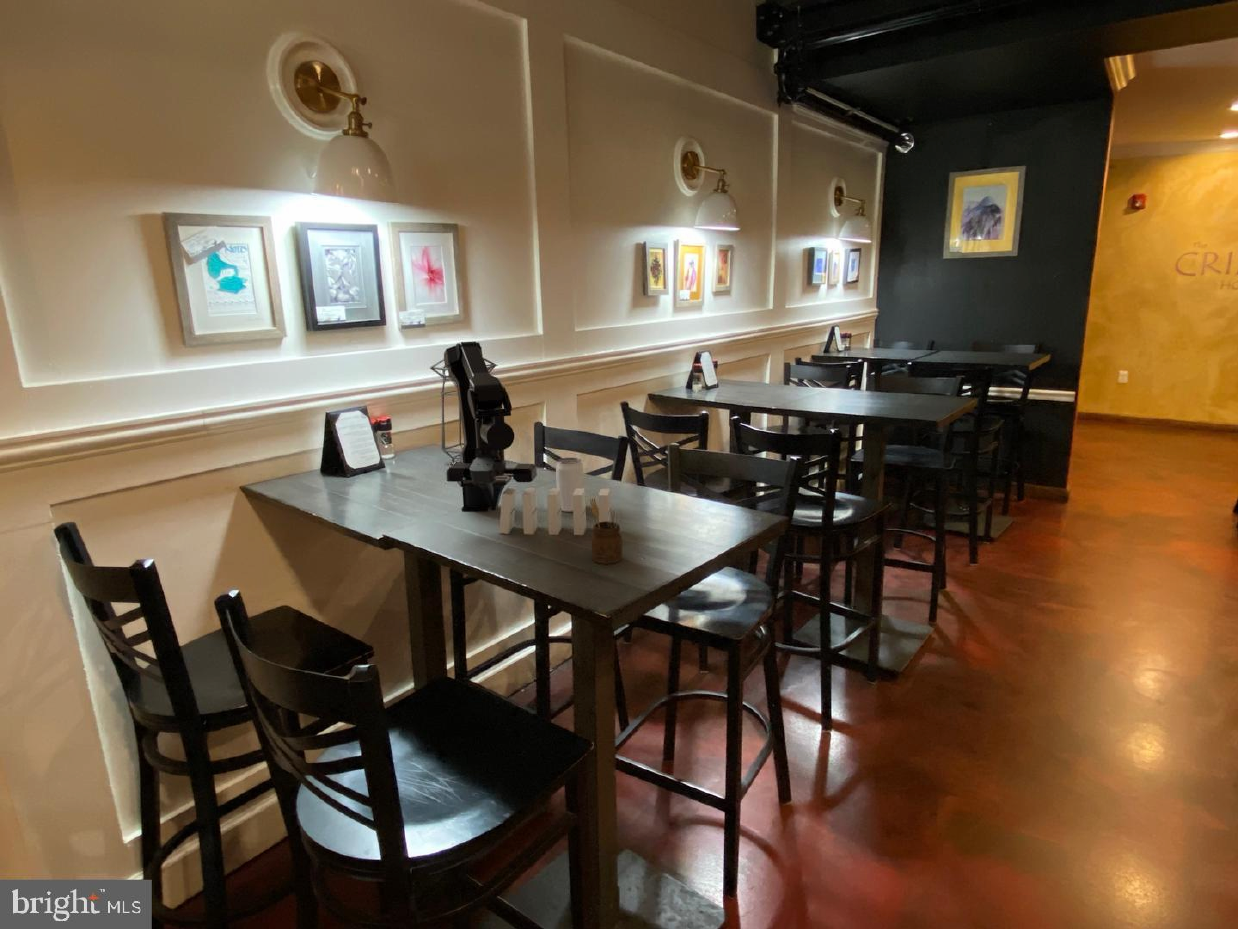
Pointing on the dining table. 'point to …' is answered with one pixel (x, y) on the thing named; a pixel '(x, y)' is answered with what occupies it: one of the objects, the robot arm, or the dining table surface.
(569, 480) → the can
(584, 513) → the domino
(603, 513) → the domino
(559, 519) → the domino
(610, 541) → the utensil holder
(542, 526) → the dining table surface
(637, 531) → the dining table surface
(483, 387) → the robot arm
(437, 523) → the dining table surface
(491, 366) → the geometric lantern
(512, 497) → the domino
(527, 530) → the domino
